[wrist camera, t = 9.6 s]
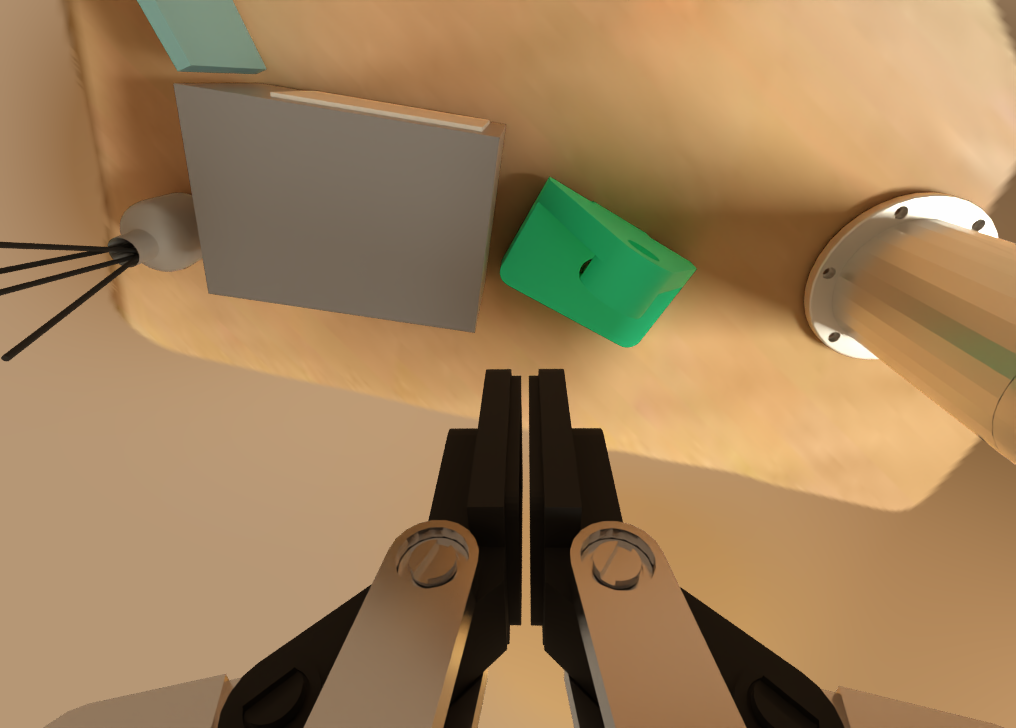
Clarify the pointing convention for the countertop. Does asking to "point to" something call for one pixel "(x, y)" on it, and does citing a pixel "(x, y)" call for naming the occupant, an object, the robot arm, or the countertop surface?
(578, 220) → the camera mount
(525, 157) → the countertop surface
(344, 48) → the countertop surface
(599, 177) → the countertop surface
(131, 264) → the reed diffuser
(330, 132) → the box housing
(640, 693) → the robot arm
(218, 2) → the side door
